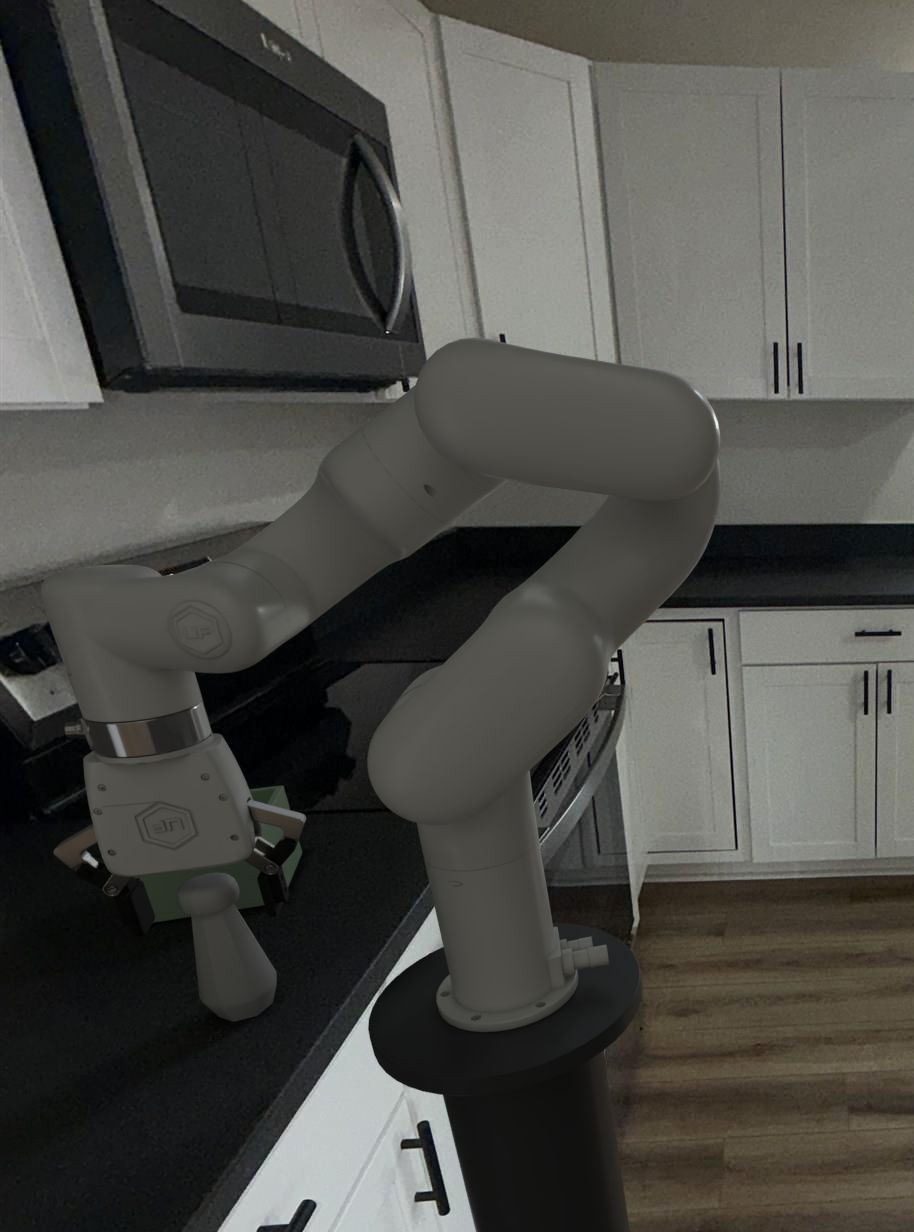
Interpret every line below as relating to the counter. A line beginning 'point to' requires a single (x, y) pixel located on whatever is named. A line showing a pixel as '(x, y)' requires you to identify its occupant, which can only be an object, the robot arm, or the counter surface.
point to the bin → (223, 868)
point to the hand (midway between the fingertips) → (212, 918)
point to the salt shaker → (226, 949)
